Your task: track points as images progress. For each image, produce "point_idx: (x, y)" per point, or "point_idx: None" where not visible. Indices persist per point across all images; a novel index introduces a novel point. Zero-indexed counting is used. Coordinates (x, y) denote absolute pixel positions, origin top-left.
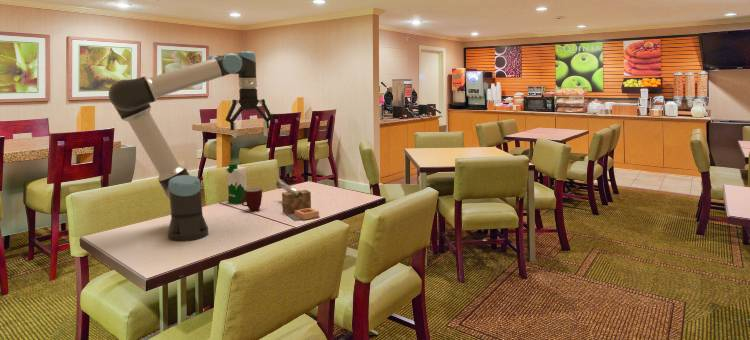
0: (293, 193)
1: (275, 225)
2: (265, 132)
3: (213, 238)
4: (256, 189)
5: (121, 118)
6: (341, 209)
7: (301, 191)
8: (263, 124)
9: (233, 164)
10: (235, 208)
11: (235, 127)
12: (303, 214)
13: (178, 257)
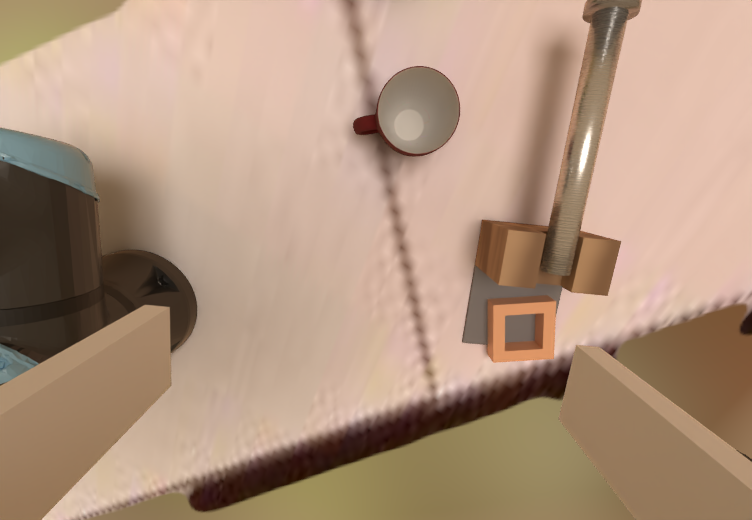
0: (543, 263)
1: (393, 351)
2: (587, 456)
3: (201, 369)
4: (445, 81)
5: None
6: (662, 304)
7: (586, 260)
8: (720, 468)
9: None
10: (354, 53)
11: (49, 504)
12: (493, 361)
13: (103, 457)
